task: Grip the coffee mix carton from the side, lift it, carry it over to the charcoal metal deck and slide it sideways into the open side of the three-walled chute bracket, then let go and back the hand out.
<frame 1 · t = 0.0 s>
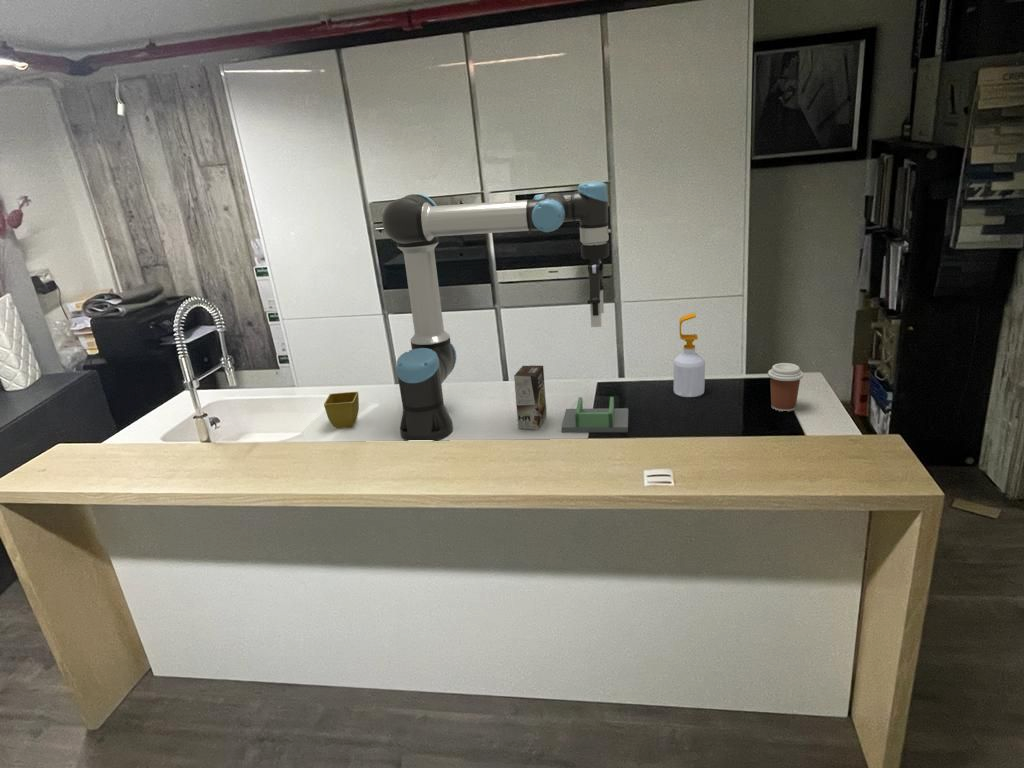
hand: (597, 319, 188), 28 cm above the worktop, tool pointing down, fingers open, 13 cm apart
coffee box: (533, 423, 194), on the worktop
flower pot: (346, 425, 204), on the worktop
soap bottle: (688, 392, 206), on the worktop
coffee cup: (783, 407, 190), on the worktop
chute bracket: (595, 422, 191), on the worktop
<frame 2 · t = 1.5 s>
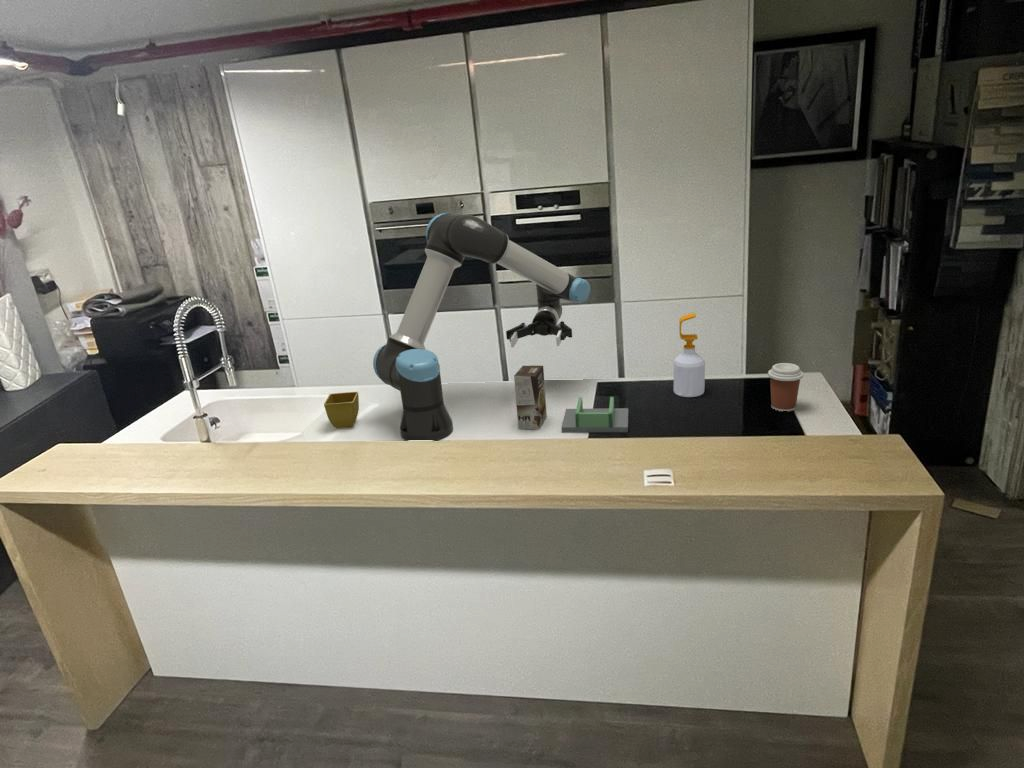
hand: (534, 342, 198), 20 cm above the worktop, tool horizontal, fingers open, 13 cm apart
nothing on the worktop moved.
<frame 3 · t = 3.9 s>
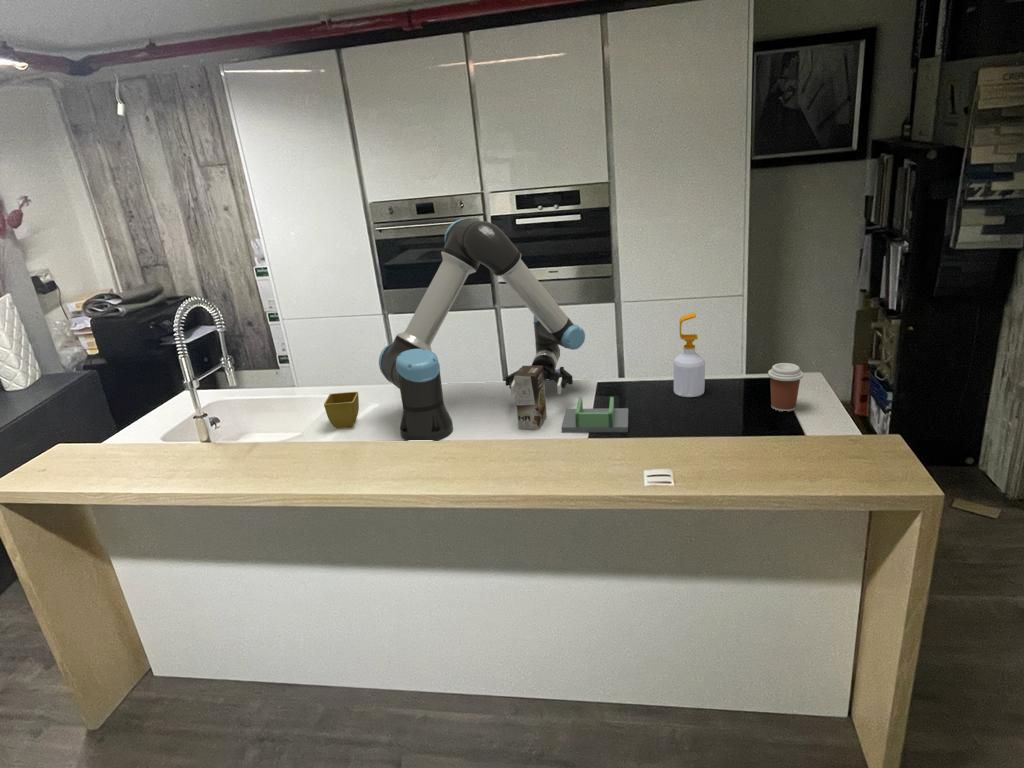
hand: (535, 390, 195), 8 cm above the worktop, tool horizontal, fingers open, 13 cm apart
nothing on the worktop moved.
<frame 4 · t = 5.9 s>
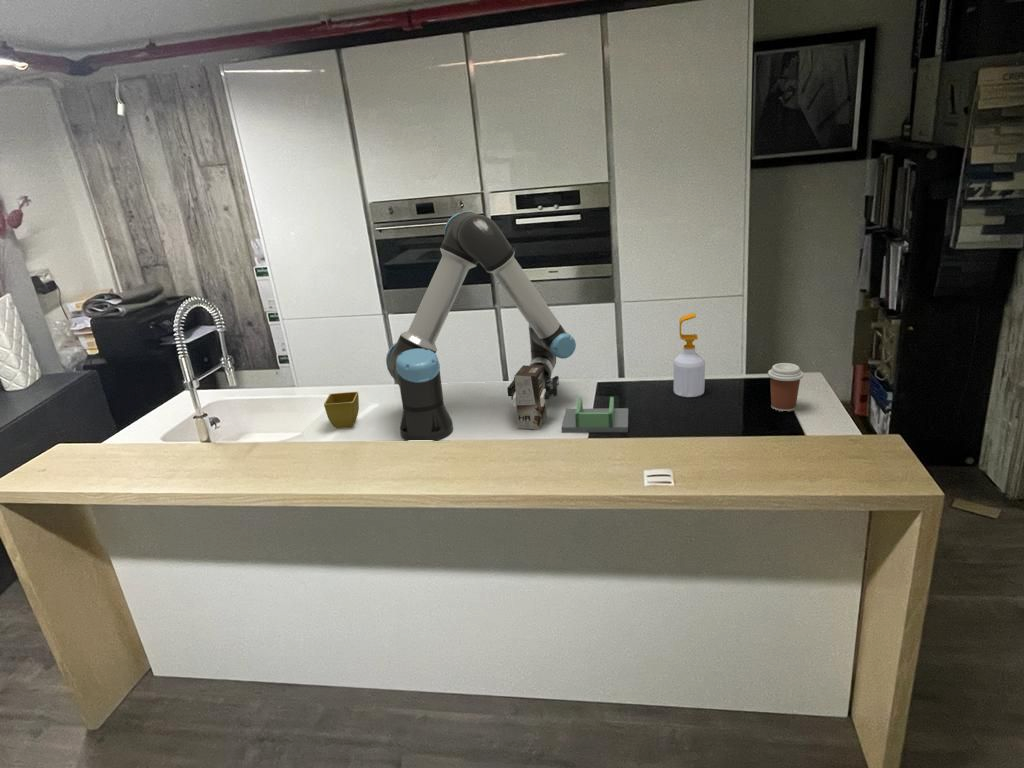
hand: (528, 402, 187), 9 cm above the worktop, tool horizontal, fingers closed on coffee box, 7 cm apart
coffee box: (532, 423, 194), on the worktop, touching gripper
everything else where it was.
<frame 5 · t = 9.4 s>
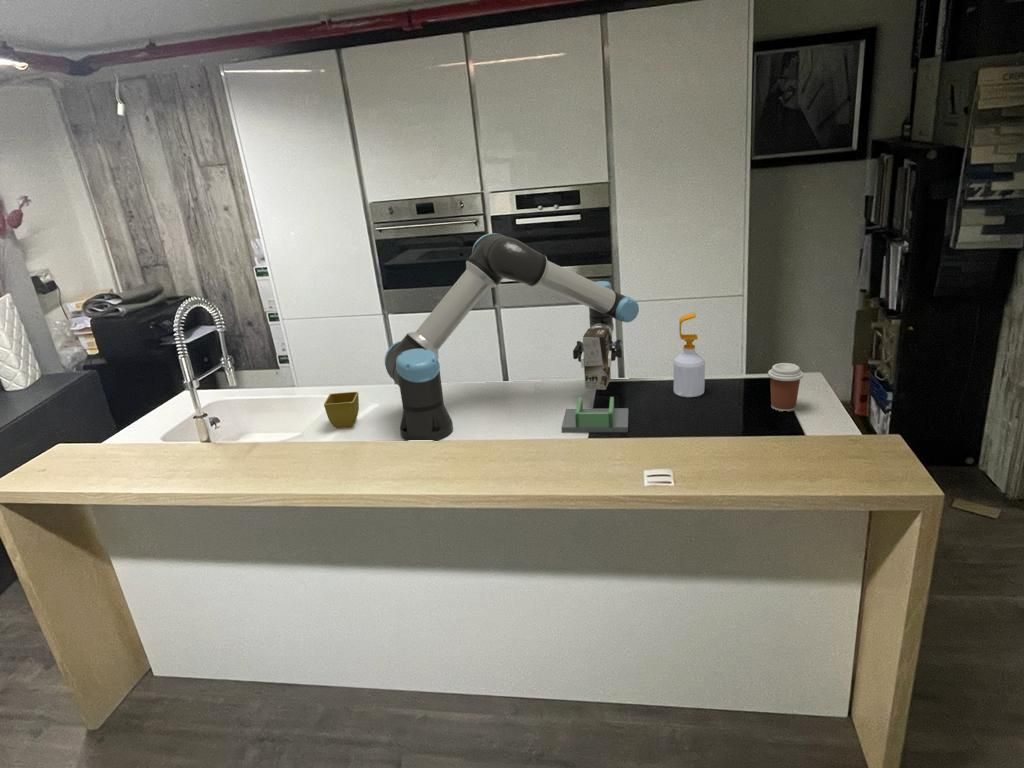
hand: (595, 362, 193), 15 cm above the worktop, tool horizontal, fingers closed on coffee box, 7 cm apart
coffee box: (598, 384, 201), point 6 cm above the worktop, touching gripper
everything else where it was.
when the fingers open (11 cm above the worktop, at t = 13.2 s): coffee box drops 1 cm, resting on chute bracket.
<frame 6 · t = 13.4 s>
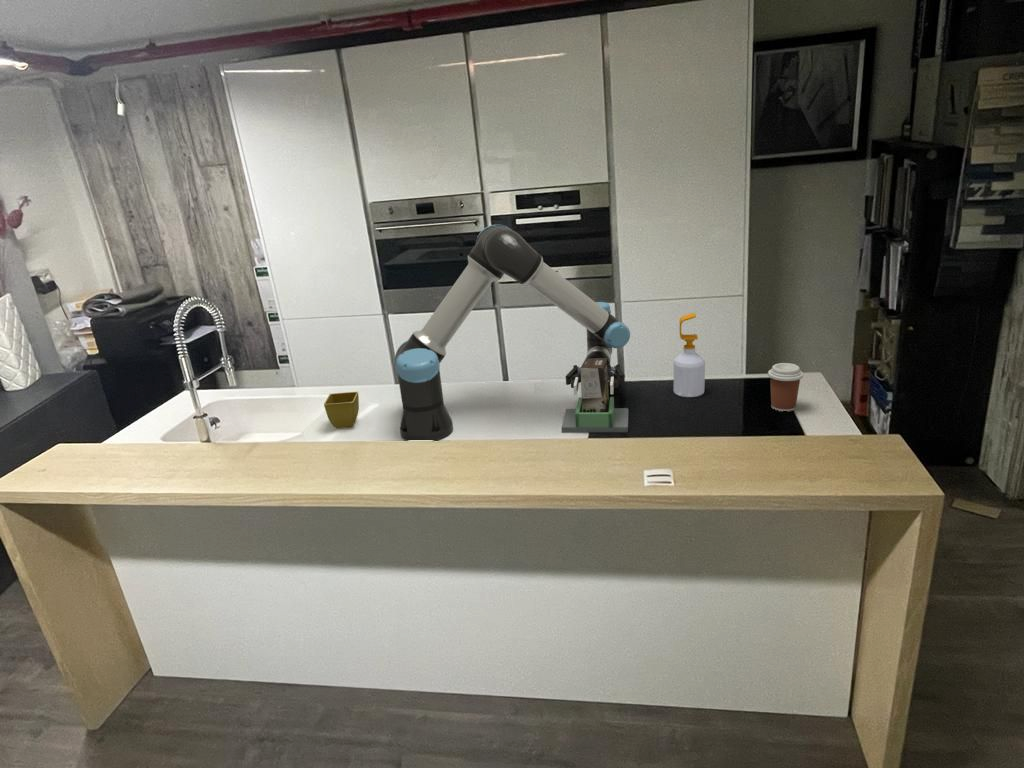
hand: (593, 389, 183), 11 cm above the worktop, tool horizontal, fingers open, 9 cm apart
coffee box: (596, 417, 191), point 1 cm above the worktop, touching chute bracket
everything else where it was.
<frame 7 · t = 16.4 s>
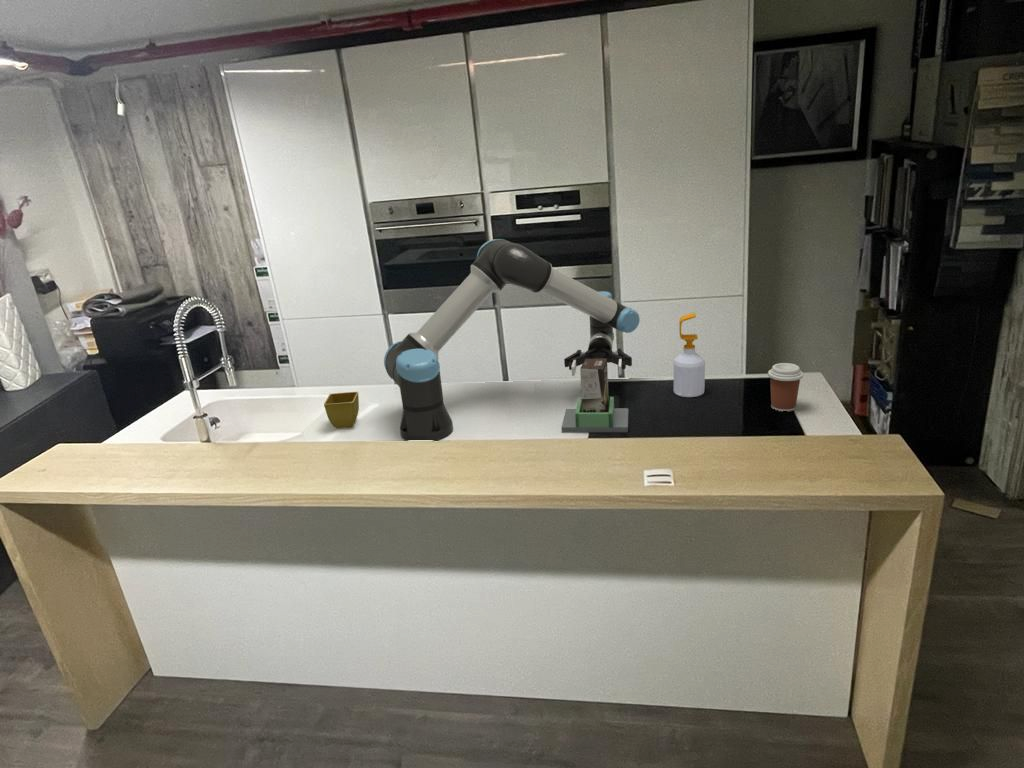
hand: (596, 371, 197), 12 cm above the worktop, tool horizontal, fingers open, 13 cm apart
nothing on the worktop moved.
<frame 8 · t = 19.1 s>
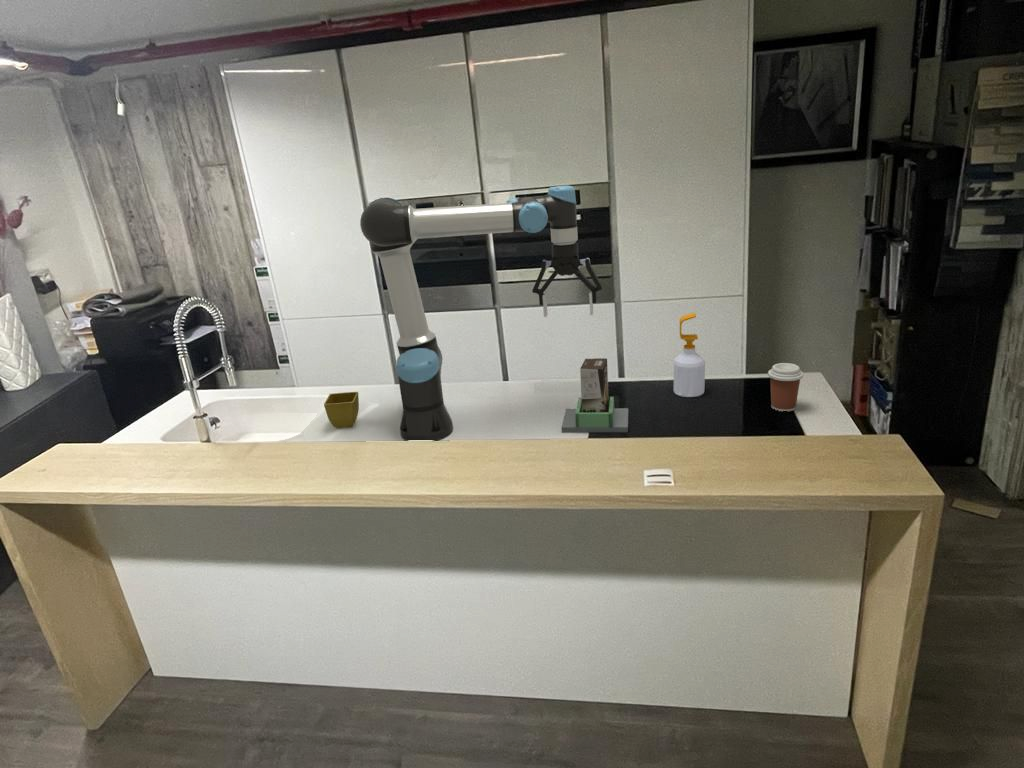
hand: (568, 314, 199), 27 cm above the worktop, tool pointing down, fingers open, 13 cm apart
nothing on the worktop moved.
at the end: coffee box 0.1 cm off-centre on the chute bracket, point 1.3 cm above the chute bracket's base; coffee box tilted 0°; the gripper is holding nothing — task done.
